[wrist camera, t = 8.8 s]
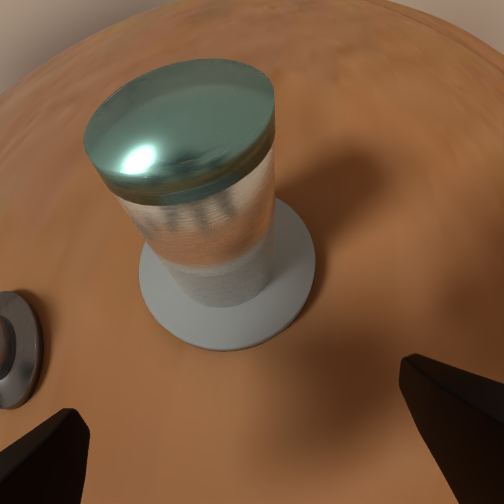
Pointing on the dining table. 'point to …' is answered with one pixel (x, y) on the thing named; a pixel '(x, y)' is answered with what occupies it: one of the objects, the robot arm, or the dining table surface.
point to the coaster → (244, 315)
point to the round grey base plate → (18, 350)
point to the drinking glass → (195, 173)
